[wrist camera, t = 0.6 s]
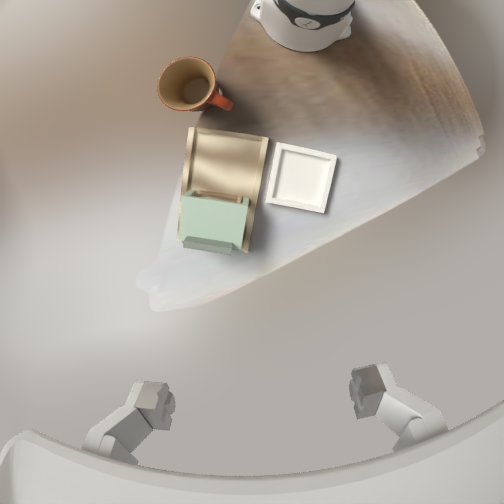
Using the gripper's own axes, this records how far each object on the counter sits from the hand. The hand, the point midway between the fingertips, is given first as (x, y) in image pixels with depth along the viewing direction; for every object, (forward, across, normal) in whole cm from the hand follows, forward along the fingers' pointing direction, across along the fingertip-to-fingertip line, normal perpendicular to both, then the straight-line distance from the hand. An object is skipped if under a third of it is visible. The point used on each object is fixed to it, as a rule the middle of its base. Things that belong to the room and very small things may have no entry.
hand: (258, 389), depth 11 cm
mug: (+42, +6, -19) cm, 47 cm away
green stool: (+41, +8, +3) cm, 42 cm away
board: (+42, +7, -2) cm, 43 cm away
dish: (+42, -8, -2) cm, 43 cm away
